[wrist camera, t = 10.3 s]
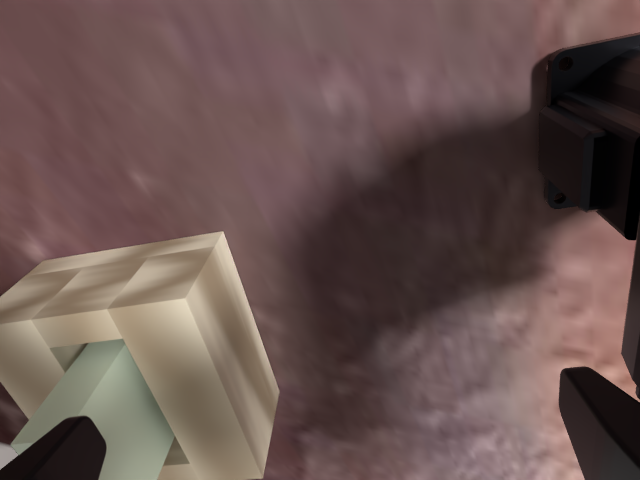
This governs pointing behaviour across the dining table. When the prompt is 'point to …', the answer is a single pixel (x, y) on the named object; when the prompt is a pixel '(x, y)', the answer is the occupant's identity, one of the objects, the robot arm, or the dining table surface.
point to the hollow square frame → (153, 345)
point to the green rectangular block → (108, 412)
